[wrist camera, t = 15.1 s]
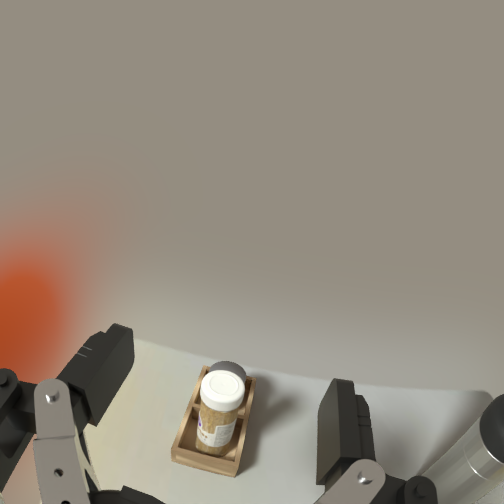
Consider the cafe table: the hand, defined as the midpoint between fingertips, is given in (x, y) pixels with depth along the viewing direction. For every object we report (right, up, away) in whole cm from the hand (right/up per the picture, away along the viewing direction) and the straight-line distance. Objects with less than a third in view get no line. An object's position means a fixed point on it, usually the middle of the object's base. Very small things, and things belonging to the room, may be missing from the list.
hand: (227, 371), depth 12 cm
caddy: (-4, -20, +28) cm, 35 cm away
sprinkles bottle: (-4, -21, +25) cm, 33 cm away
